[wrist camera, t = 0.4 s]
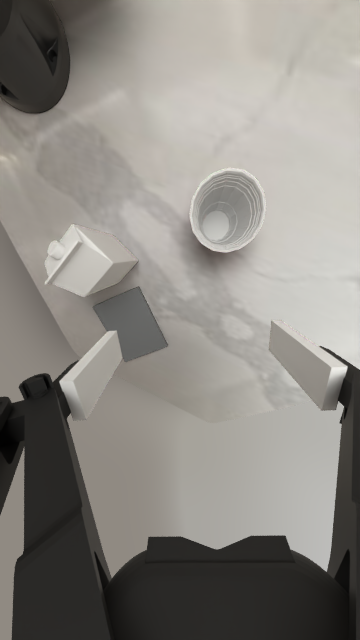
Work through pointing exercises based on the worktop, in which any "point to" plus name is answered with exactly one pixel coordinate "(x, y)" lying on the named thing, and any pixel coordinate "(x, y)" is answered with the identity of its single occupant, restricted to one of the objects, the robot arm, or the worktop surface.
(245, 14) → the worktop surface
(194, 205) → the plastic cup
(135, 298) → the gray mat
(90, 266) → the milk carton
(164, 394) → the worktop surface
